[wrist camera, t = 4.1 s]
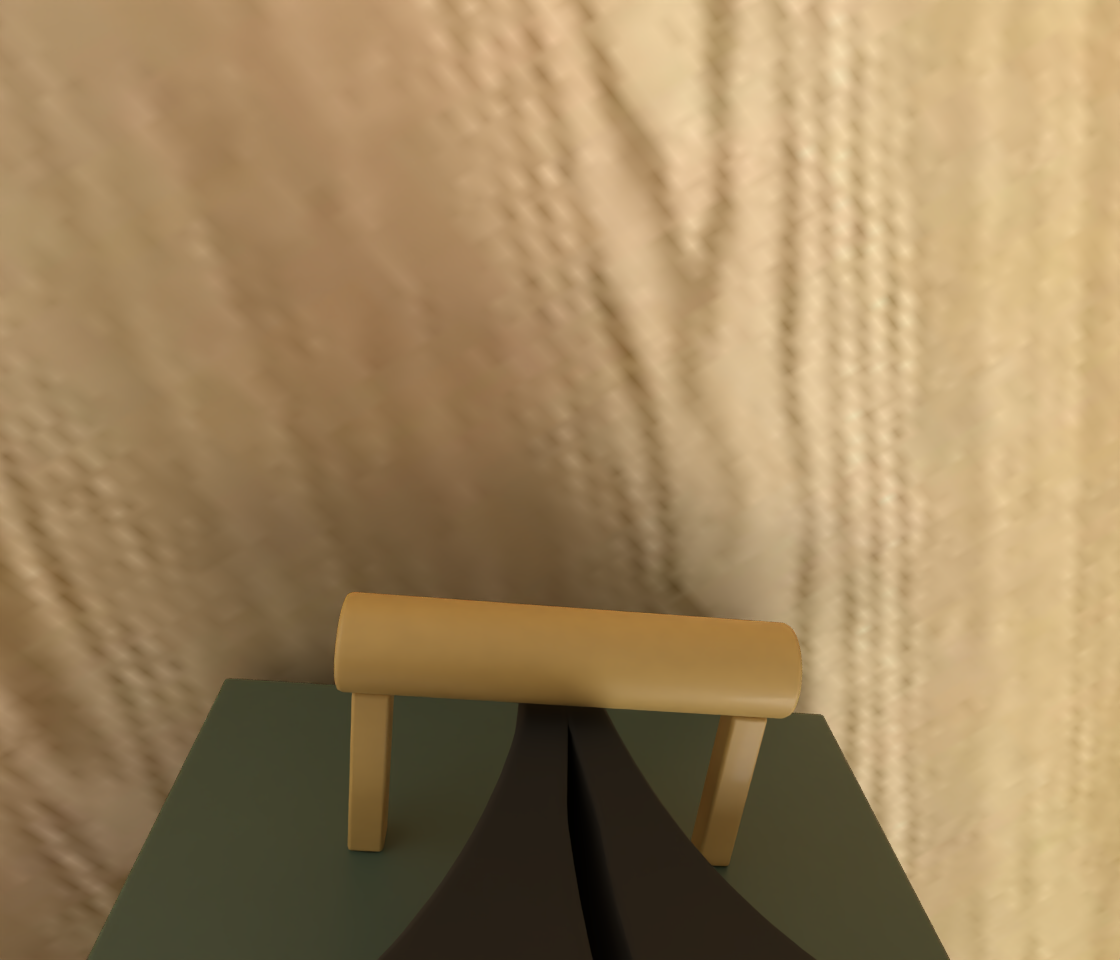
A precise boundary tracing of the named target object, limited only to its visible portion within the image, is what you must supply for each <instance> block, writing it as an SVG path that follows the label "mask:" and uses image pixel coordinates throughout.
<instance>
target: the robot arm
mask: <svg viewBox="0 0 1120 960" xmlns="http://www.w3.org/2000/svg"><path fill="white" fill-rule="evenodd" d="M377 960H817V959H815V958H814V957H812V956H811V955H810V954H808V953H807V952H806V951H804V950H803V949H802V948H801V947H799V946H798V945H797V944H796V943H795V942H793V941H792V940H791V939H790V938H788V937H787V936H786V935H785V934H784V933H782V932H781V931H780V930H779V929H777V928H776V927H775V926H774V925H773V924H772V923H770V922H769V921H768V920H767V919H766V918H765V917H764V916H762V915H761V914H760V913H759V912H758V911H757V910H756V909H755V908H754V907H753V906H752V905H751V904H750V903H749V902H748V901H747V900H746V899H744V898H743V897H742V896H741V895H740V894H739V893H738V892H737V891H736V890H735V889H734V888H733V887H732V886H731V885H730V884H729V883H728V882H727V881H726V880H725V879H724V878H723V877H722V876H721V875H720V874H719V873H718V872H717V871H716V870H715V868H714V867H713V866H712V865H711V864H710V863H709V862H708V861H707V859H706V858H705V857H704V856H703V855H702V854H701V853H700V851H699V850H698V849H697V848H696V847H695V846H694V844H693V843H692V842H691V841H690V839H689V838H688V837H687V836H686V834H685V833H684V832H683V831H682V829H681V828H680V827H679V826H678V824H677V823H676V822H675V820H674V819H673V817H672V816H671V815H670V813H669V812H668V811H667V809H666V808H665V807H664V805H663V804H662V802H661V801H660V800H659V798H658V797H657V795H656V794H655V792H654V791H653V789H652V788H651V786H650V785H649V783H648V782H647V780H646V779H645V777H644V775H643V774H642V772H641V771H640V769H639V768H638V766H637V765H636V763H635V761H634V760H633V758H632V756H631V755H630V753H629V751H628V750H627V748H626V746H625V744H624V743H623V741H622V739H621V737H620V736H619V734H618V732H617V730H616V728H615V726H614V725H613V723H612V721H611V719H610V717H609V715H608V713H607V711H606V709H605V708H597V707H580V706H564V705H547V704H531V703H519V704H518V712H517V720H516V728H515V734H514V737H513V741H512V744H511V747H510V750H509V753H508V756H507V758H506V761H505V764H504V766H503V769H502V772H501V774H500V777H499V779H498V781H497V784H496V786H495V788H494V790H493V792H492V794H491V797H490V799H489V801H488V803H487V805H486V807H485V809H484V811H483V813H482V815H481V817H480V819H479V821H478V823H477V825H476V827H475V828H474V830H473V832H472V834H471V836H470V837H469V839H468V841H467V842H466V844H465V846H464V848H463V849H462V851H461V853H460V854H459V856H458V857H457V859H456V860H455V862H454V863H453V865H452V866H451V868H450V869H449V871H448V873H447V874H446V876H445V877H444V879H443V880H442V882H441V883H440V884H439V886H438V887H437V889H436V890H435V891H434V893H433V894H432V896H431V897H430V898H429V899H428V901H427V902H426V903H425V905H424V906H423V907H422V908H421V910H420V911H419V912H418V913H417V915H416V916H415V917H414V918H413V920H412V921H411V922H410V923H409V925H408V926H407V927H406V928H405V930H404V931H403V932H402V933H401V934H400V936H399V937H398V938H397V939H396V940H395V941H394V942H393V944H392V945H391V946H390V947H389V948H388V949H387V950H386V951H385V952H384V953H383V954H382V955H381V956H380V957H379V958H378V959H377Z"/></svg>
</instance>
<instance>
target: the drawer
mask: <svg viewBox="0 0 1120 960" xmlns="http://www.w3.org/2000/svg"><path fill="white" fill-rule="evenodd" d="M334 679H335V684H336V685H331V684H314V683H298V682H282V681H265V680H249V679H232V678H228V679H226V680H225V681H224V683H223V685H222V687H221V690H220V692H219V694H218V696H217V698H216V700H215V702H214V704H213V706H212V708H211V710H210V712H209V714H208V716H207V718H206V720H205V722H204V724H203V726H202V728H201V730H200V732H199V734H198V736H197V738H196V740H195V742H194V744H193V746H192V748H191V750H190V752H189V754H188V756H187V758H186V760H185V762H184V764H183V766H182V768H181V770H180V772H179V774H178V776H177V778H176V780H175V783H174V785H173V787H172V789H171V791H170V793H169V795H168V797H167V799H166V801H165V803H164V805H163V807H162V809H161V811H160V813H159V815H158V817H157V819H156V821H155V823H154V825H153V827H152V829H151V831H150V833H149V835H148V837H147V839H146V841H145V843H144V845H143V847H142V849H141V851H140V853H139V855H138V857H137V859H136V861H135V863H134V865H133V867H132V869H131V871H130V873H129V875H128V878H127V880H126V882H125V884H124V886H123V888H122V890H121V892H120V894H119V896H118V898H117V900H116V902H115V904H114V906H113V908H112V910H111V912H110V914H109V916H108V918H107V920H106V922H105V924H104V926H103V928H102V930H101V932H100V934H99V936H98V938H97V940H96V942H95V944H94V946H93V948H92V950H91V952H90V954H89V956H88V958H87V960H377V959H378V958H379V957H380V956H381V955H382V954H383V953H384V952H385V951H386V950H387V949H388V948H389V947H390V946H391V945H392V944H393V942H394V941H395V940H396V939H397V938H398V937H399V936H400V934H401V933H402V932H403V931H404V930H405V928H406V927H407V926H408V925H409V923H410V922H411V921H412V920H413V918H414V917H415V916H416V915H417V913H418V912H419V911H420V910H421V908H422V907H423V906H424V905H425V903H426V902H427V901H428V899H429V898H430V897H431V896H432V894H433V893H434V891H435V890H436V889H437V887H438V886H439V884H440V883H441V882H442V880H443V879H444V877H445V876H446V874H447V873H448V871H449V869H450V868H451V866H452V865H453V863H454V862H455V860H456V859H457V857H458V856H459V854H460V853H461V851H462V849H463V848H464V846H465V844H466V842H467V841H468V839H469V837H470V836H471V834H472V832H473V830H474V828H475V827H476V825H477V823H478V821H479V819H480V817H481V815H482V813H483V811H484V809H485V807H486V805H487V803H488V801H489V799H490V797H491V794H492V792H493V790H494V788H495V786H496V784H497V781H498V779H499V777H500V774H501V772H502V769H503V766H504V764H505V761H506V758H507V756H508V753H509V750H510V747H511V744H512V741H513V737H514V734H515V728H516V720H517V712H518V704H519V703H531V704H547V705H564V706H580V707H597V708H605V709H606V711H607V713H608V715H609V717H610V719H611V721H612V723H613V725H614V726H615V728H616V730H617V732H618V734H619V736H620V737H621V739H622V741H623V743H624V744H625V746H626V748H627V750H628V751H629V753H630V755H631V756H632V758H633V760H634V761H635V763H636V765H637V766H638V768H639V769H640V771H641V772H642V774H643V775H644V777H645V779H646V780H647V782H648V783H649V785H650V786H651V788H652V789H653V791H654V792H655V794H656V795H657V797H658V798H659V800H660V801H661V802H662V804H663V805H664V807H665V808H666V809H667V811H668V812H669V813H670V815H671V816H672V817H673V819H674V820H675V822H676V823H677V824H678V826H679V827H680V828H681V829H682V831H683V832H684V833H685V834H686V836H687V837H688V838H689V839H690V841H691V842H692V843H693V844H694V846H695V847H696V848H697V849H698V850H699V851H700V853H701V854H702V855H703V856H704V857H705V858H706V859H707V861H708V862H709V863H710V864H711V865H712V866H713V867H714V868H715V870H716V871H717V872H718V873H719V874H720V875H721V876H722V877H723V878H724V879H725V880H726V881H727V882H728V883H729V884H730V885H731V886H732V887H733V888H734V889H735V890H736V891H737V892H738V893H739V894H740V895H741V896H742V897H743V898H744V899H746V900H747V901H748V902H749V903H750V904H751V905H752V906H753V907H754V908H755V909H756V910H757V911H758V912H759V913H760V914H761V915H762V916H764V917H765V918H766V919H767V920H768V921H769V922H770V923H772V924H773V925H774V926H775V927H776V928H777V929H779V930H780V931H781V932H782V933H784V934H785V935H786V936H787V937H788V938H790V939H791V940H792V941H793V942H795V943H796V944H797V945H798V946H799V947H801V948H802V949H803V950H804V951H806V952H807V953H808V954H810V955H811V956H812V957H814V958H815V959H817V960H950V959H949V957H948V955H947V953H946V951H945V949H944V947H943V945H942V943H941V941H940V939H939V937H938V936H937V934H936V932H935V930H934V928H933V926H932V924H931V922H930V920H929V918H928V916H927V914H926V912H925V911H924V909H923V907H922V905H921V903H920V901H919V899H918V897H917V895H916V893H915V891H914V889H913V887H912V886H911V884H910V882H909V880H908V878H907V876H906V874H905V872H904V870H903V868H902V866H901V864H900V862H899V861H898V859H897V857H896V855H895V853H894V851H893V849H892V847H891V845H890V843H889V841H888V839H887V837H886V836H885V834H884V832H883V830H882V828H881V826H880V824H879V822H878V820H877V818H876V816H875V814H874V812H873V811H872V809H871V807H870V805H869V803H868V801H867V799H866V797H865V795H864V793H863V791H862V789H861V787H860V786H859V784H858V782H857V780H856V778H855V776H854V774H853V772H852V770H851V768H850V766H849V764H848V762H847V761H846V759H845V757H844V755H843V753H842V751H841V749H840V747H839V745H838V743H837V741H836V739H835V737H834V736H833V734H832V732H831V730H830V728H829V726H828V724H827V722H826V720H825V718H824V716H822V715H820V714H804V713H792V712H793V711H794V709H795V707H796V705H797V702H798V699H799V695H800V690H801V682H802V659H801V651H800V646H799V642H798V639H797V636H796V634H795V632H794V631H793V629H792V628H791V627H790V626H788V625H787V624H785V623H779V622H765V621H751V620H737V619H724V618H710V617H696V616H682V615H668V614H654V613H640V612H626V611H612V610H598V609H584V608H571V607H557V606H543V605H529V604H515V603H501V602H487V601H473V600H459V599H445V598H432V597H418V596H404V595H390V594H376V593H362V592H352V593H349V594H348V595H347V596H346V598H345V600H344V603H343V605H342V609H341V613H340V618H339V623H338V629H337V636H336V644H335V656H334Z"/></svg>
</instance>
